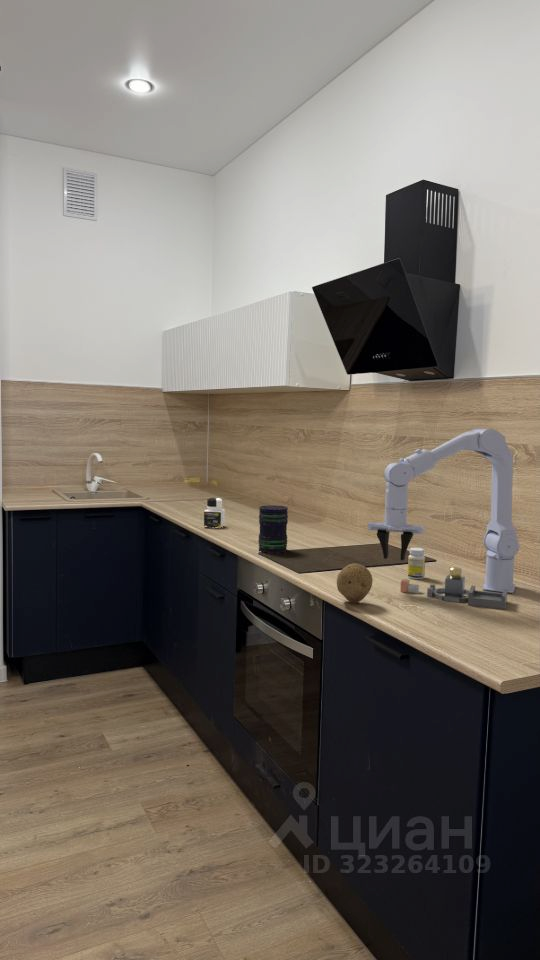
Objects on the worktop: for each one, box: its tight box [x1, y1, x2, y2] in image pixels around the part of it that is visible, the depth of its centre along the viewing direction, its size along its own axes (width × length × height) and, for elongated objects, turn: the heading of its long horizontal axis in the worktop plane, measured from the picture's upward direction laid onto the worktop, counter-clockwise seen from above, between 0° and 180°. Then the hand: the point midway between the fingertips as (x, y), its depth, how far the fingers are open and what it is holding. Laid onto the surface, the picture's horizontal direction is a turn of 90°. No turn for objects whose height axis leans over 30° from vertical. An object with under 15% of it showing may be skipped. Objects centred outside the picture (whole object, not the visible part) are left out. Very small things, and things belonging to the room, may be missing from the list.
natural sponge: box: [336, 563, 374, 604], centre depth 170 cm, size 9×9×10 cm
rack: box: [467, 585, 508, 610], centre depth 173 cm, size 8×9×3 cm
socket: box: [426, 583, 470, 603], centre depth 179 cm, size 11×12×2 cm
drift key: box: [399, 579, 420, 594], centre depth 183 cm, size 3×4×3 cm, turn 68°
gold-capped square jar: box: [444, 566, 466, 598], centre depth 179 cm, size 4×4×8 cm
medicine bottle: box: [203, 497, 226, 529], centre depth 282 cm, size 7×7×12 cm
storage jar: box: [258, 505, 289, 554], centre depth 235 cm, size 10×10×15 cm
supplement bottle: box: [407, 547, 426, 580], centre depth 199 cm, size 5×5×8 cm
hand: (394, 558), depth 184 cm, fingers open, 4 cm apart
